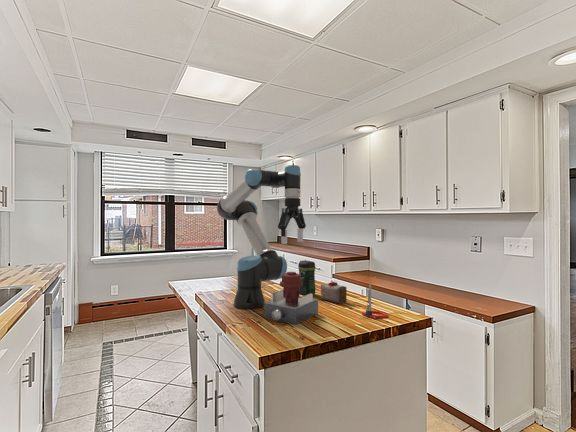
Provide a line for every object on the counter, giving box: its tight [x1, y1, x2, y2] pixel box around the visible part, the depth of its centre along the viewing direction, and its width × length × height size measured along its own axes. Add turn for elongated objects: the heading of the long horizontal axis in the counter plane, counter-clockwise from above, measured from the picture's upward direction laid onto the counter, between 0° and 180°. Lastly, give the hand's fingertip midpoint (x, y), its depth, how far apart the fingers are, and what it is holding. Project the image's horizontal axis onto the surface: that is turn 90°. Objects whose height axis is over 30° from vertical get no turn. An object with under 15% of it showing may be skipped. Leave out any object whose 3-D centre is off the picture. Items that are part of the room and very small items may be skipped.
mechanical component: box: [279, 271, 303, 303], centre depth 142 cm, size 12×10×10 cm
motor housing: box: [264, 289, 319, 326], centre depth 141 cm, size 16×21×10 cm
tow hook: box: [361, 284, 388, 320], centre depth 143 cm, size 9×14×10 cm
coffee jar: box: [298, 259, 316, 296], centre depth 183 cm, size 10×8×19 cm
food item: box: [320, 281, 348, 305], centre depth 168 cm, size 14×8×10 cm, turn 43°
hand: (292, 242), depth 155 cm, fingers open, 13 cm apart
